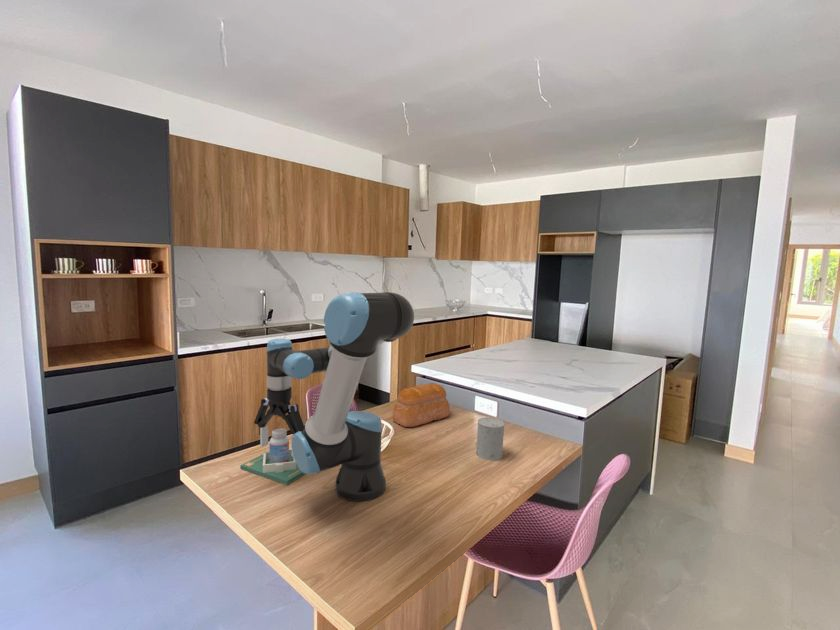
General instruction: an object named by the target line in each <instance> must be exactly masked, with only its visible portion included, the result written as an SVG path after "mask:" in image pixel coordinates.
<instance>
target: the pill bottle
mask: <svg viewBox="0 0 840 630" xmlns="http://www.w3.org/2000/svg"><path fill="white" fill-rule="evenodd" d="M287 434H288V432H287V429H285V428H276V429H273V430H272V431H271V438H269V443H268V445H269V464H272V463H282V462H289V449H290V439H289V437H288V435H287Z"/></svg>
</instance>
